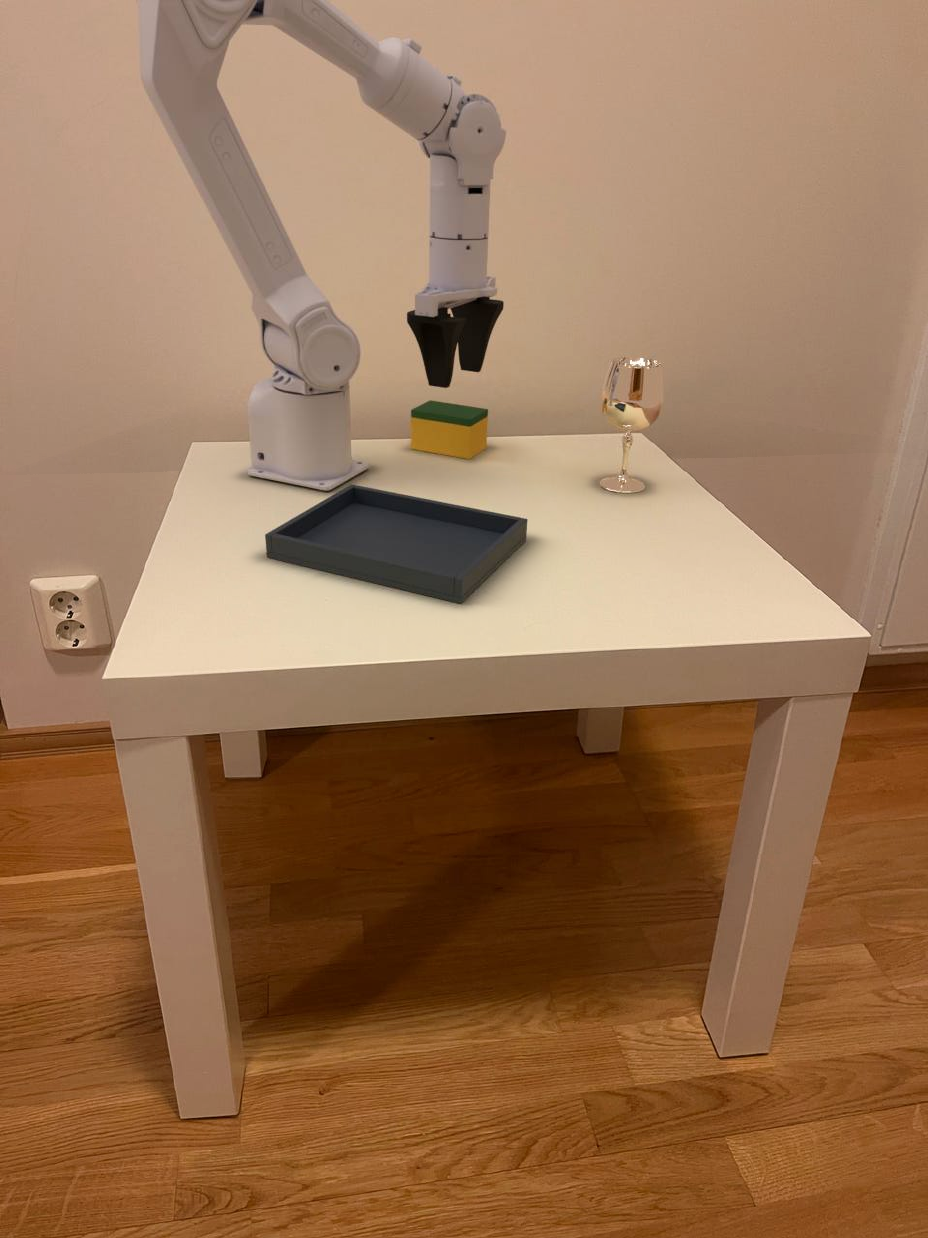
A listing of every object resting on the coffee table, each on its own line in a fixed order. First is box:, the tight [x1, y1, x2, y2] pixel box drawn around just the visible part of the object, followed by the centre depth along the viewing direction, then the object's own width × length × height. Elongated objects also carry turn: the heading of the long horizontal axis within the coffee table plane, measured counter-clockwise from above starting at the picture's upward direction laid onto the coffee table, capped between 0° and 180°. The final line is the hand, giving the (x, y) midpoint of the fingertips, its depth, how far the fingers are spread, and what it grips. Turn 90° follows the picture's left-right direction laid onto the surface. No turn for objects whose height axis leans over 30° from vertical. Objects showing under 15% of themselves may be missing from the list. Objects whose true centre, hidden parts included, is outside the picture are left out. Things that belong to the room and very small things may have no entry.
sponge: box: [410, 399, 489, 460], centre depth 98 cm, size 7×4×4 cm, turn 65°
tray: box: [264, 484, 528, 605], centre depth 74 cm, size 17×13×2 cm
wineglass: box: [599, 356, 665, 494], centre depth 87 cm, size 6×6×12 cm
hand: (455, 378), depth 94 cm, fingers open, 7 cm apart
